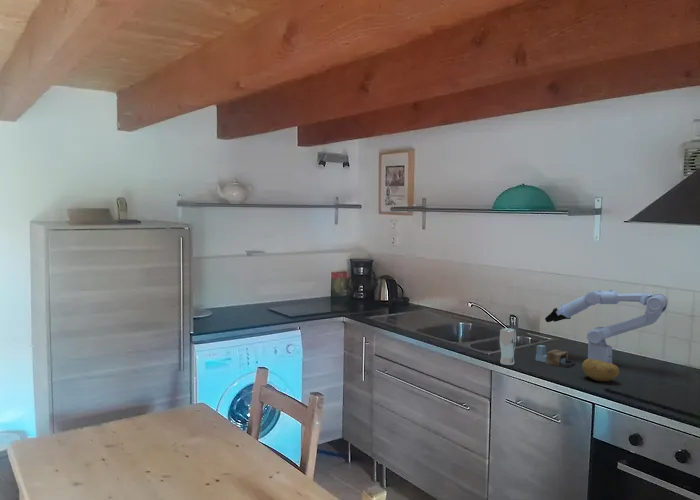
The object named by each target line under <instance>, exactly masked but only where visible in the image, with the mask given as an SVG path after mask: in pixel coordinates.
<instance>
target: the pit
mask: <svg viewBox="0 0 700 500" xmlns="http://www.w3.org/2000/svg"><path fill="white" fill-rule="evenodd" d="M575 365H576V361H573V360H569V359H568V360H567V363H566V364H564V363H560V366H559V367H562V368H571V367H573V366H575Z"/></svg>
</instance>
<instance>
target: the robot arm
mask: <svg viewBox="0 0 700 500" xmlns="http://www.w3.org/2000/svg"><path fill="white" fill-rule="evenodd" d="M620 302H629V303H630V302H636V303H637V302H638V303H640V304H641V305H643V306H646V307H645V308H646V309H645V312H644V313H643V315H642V314H641V315H638V316H636V317H632V318H630V319H629V318H628V319H626V320H624V321H620V322H617V323H613V324H611V325H607V326H596V327H595V328H594V329H590V330H588V332H587V334H586V338H587V340H588V343H587V344H588V345H587V359H595V360H600V361H604V362H607V363H611V364H614V363H613V347H612V346H611V345H609V344H607V342H606V339H609V338H611V337H615V336H619V335H621V334H623V333H625V334H626V333H627V332H628V333H629V332H630V331H634V330H637V329H640V328H644V327H647V326H651V325H653V324H655V323H656V322H657V321H658V320H659V318H660V317H661V316H662V315H663V313H664V312H665V311H666V310H667V306H668V303H669V302H668V298H667V297H666V296H665V295H664V294H662V293H657V294H655V293H652V292H636V293H635V292H633V293H619V292H618V291H616V290H614V289H608V290H601V289H598V290H591V291H589V292H587V293H586V294H583V295H582V296H579V297H578V298H576V299H574V300H571V301H569V302H568V303H566V304H565V303H563V302H562V303H561V304H560V305H561V306H560V308H559V309H558V308H557V307H554V308H553V309H552V311H551V312H550V313H549V314H548V315H547V316H546V317H545V318H544V320H545V322H546V323H550V322H554V323H555V322H559V321H563V320H570V319H571V317H573V316H575V315H577V314H579V313H581V312H583V311H586V310H587V309H589V308H590V307H591V306H596V305H597V304H600V305H617V304H618V303H620Z"/></svg>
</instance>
